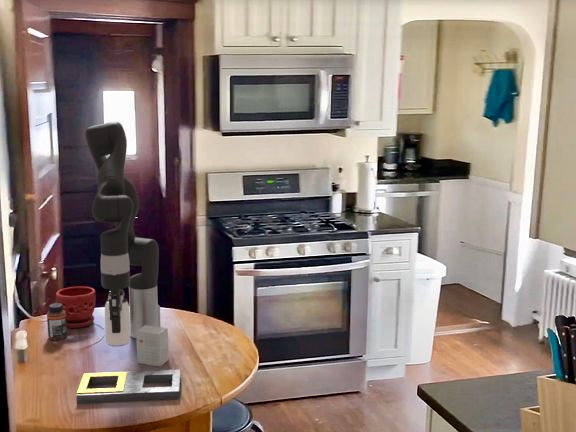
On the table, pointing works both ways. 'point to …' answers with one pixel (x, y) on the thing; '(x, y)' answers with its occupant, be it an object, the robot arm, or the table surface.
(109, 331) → the can
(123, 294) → the robot arm
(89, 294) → the plant pot
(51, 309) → the supplement bottle
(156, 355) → the small box
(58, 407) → the table surface
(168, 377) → the grey slotted tray
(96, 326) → the table surface
